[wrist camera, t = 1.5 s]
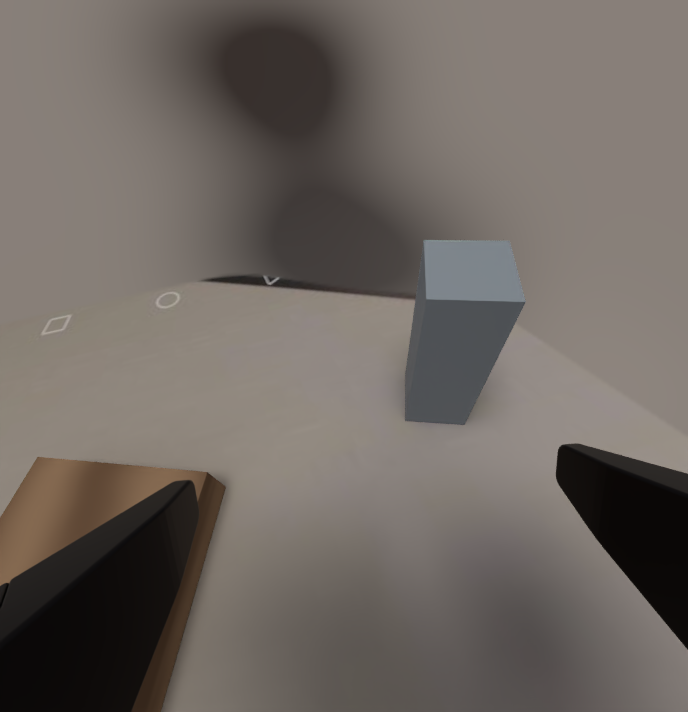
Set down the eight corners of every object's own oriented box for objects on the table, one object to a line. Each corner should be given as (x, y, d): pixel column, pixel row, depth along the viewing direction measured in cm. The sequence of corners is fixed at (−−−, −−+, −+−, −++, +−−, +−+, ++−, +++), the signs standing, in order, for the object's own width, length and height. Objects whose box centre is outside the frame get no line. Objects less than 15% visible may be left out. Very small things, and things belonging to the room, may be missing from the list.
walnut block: (227, 488, 23) (207, 472, 20) (160, 724, 17) (117, 748, 14) (76, 474, 24) (37, 456, 22) (-38, 688, 18) (-115, 704, 15)
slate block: (459, 375, 26) (509, 240, 17) (464, 424, 24) (525, 301, 14) (405, 372, 27) (424, 240, 17) (405, 420, 25) (426, 299, 15)
